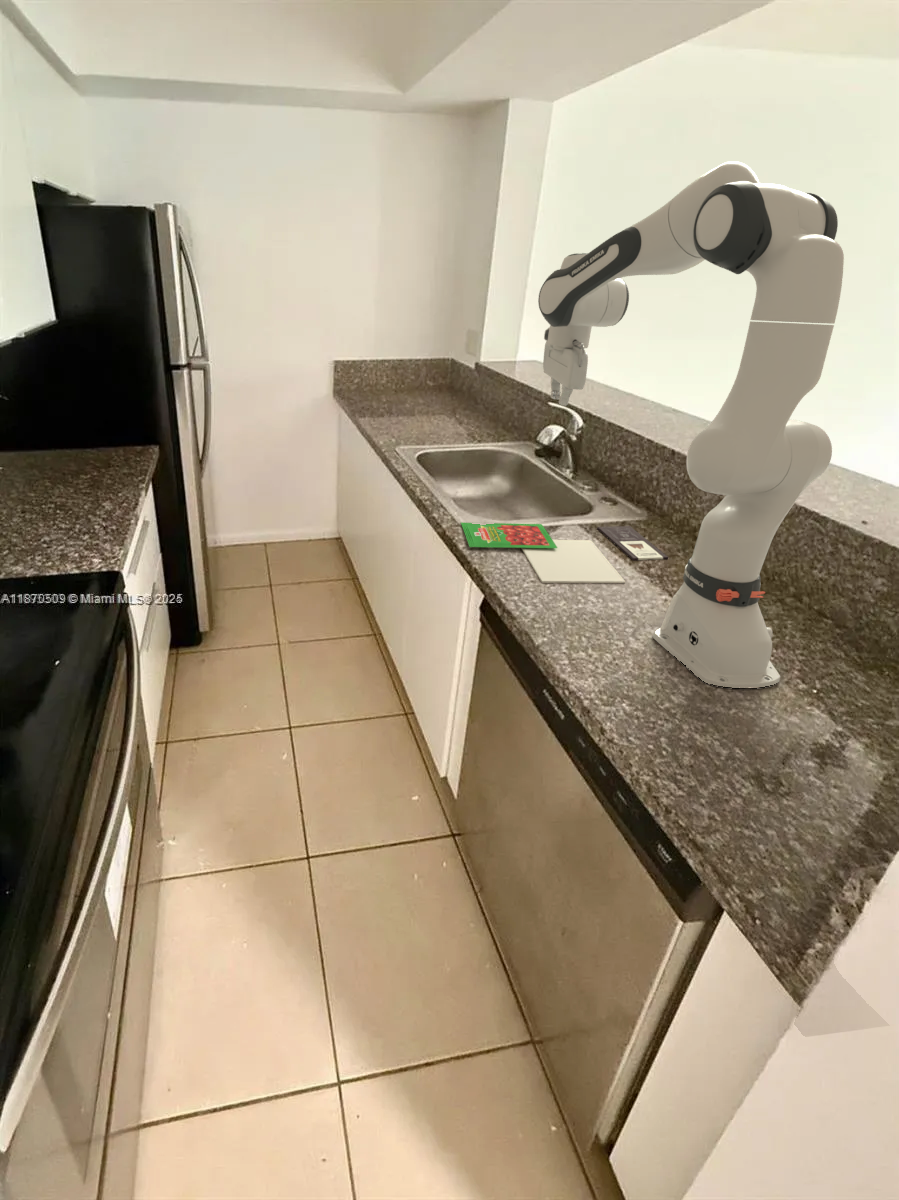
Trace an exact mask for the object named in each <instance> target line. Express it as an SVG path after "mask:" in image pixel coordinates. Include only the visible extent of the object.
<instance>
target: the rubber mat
mask: <svg viewBox="0 0 899 1200" xmlns="http://www.w3.org/2000/svg"><path fill="white" fill-rule="evenodd" d="M552 540H553V542H554V543H555V545H556V546H557V548H521V550H522V552H523V554H524V556H525V557H526V559H527V560H528V562H529V564H530V566H531V567H532V569H533V571H534V572H535V575H536V576H537V577H538V579H539V581H540V582H541V584H625V583H626V581H625V579H624V578H623V577H622V576H621V574H620V573H619V572H618V571H617V570H616V568H615V567H614V566H613V565H612V564H611V562H609V560H608V559H607V558H606V557H605V555H604V554H603V553H602V551H601V550H600V549H599V548H598V547H597V546H596V544H595V543H594V542H593V541H592V540H591V539H589V540H588V539H587V540H586V539H552Z"/></svg>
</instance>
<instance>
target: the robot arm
mask: <svg viewBox="0 0 899 1200" xmlns="http://www.w3.org/2000/svg"><path fill="white" fill-rule="evenodd" d="M838 222H839V220H838V215H837V212H836V210H835V208H834V206H833V205H832V204H831V203H830V202H829V201H828V200H826V199H825V198H823V197H821V196H820V195H818V194H816V193H811V192H802V191H800V190H798V189H797V190H796V189H793V188H789V187H787V186H785V185H783V184H782V185H781V184H776V183H764V182H763V183H761V182H760V181H759V179H758V176H757V175H756V173H755V172H754V171H753V170H752V168H751V167H750V166H748V165H747V164H745V163H743V162H740V161H726V162H724V163H722V164H721V163H720V164H719V165H718V166H716V167H714V168H712V169H710V170H709V171H707V172H706V173H703V174H702V175H701V176H699V177H698V178H697V179H695V180H694V181H692V182H691V183H690V184H689V185H687V186H685V188H683V189H682V190H681V191H680V192H679V193H677V194H676V195H675V196H674V197H673V198H672V199H670V200H669V201H668V202H667V203H665V204H664V205H662V206H661V207H660V208H658V209H657V210H656V211H654V212H653V213H651V214H649V215H648V216H646V217H645V218H643V219H641V220H640V221H638V222H636V223H635V224H632V225H631V226H629V227H626V228H625V229H624V230H621V231H619V232H617V233H615V234H614V235H612V236H610V237H609V238H608V239H606V240H605V241H603V242H602V243H600V244H599V245H598V246H596V247H595V248H593V249H592V250H591V251H590V252H581V253H579V252H578V253H572V254H569V255H567V256H565V257H564V259H563V260H562V263H561V266H560V268H558V269H556V270H554V271H552V273H551V274H550V275H548V277H547V278H546V279H545V281H544V282H543V284H542V286H541V287H540V289H539V293H538V298H537V299H538V308H539V311H540V313H541V315H542V316H543V318H544V320H545V321H546V322H547V323H548V324H549V327H548V328H546V329H545V331H544V334H543V339H544V341H545V344H544V349H543V350H544V351H543V361H542V367H543V368H542V369H543V372H544V374H546V375H548V377H550V388H551V389H550V390H551V392H550V398H551V399H552V400H558V404H559V405H560V406H565V407H566V406H568V405H569V400H570V398H571V395H572V393H573V390H578V391H579V390H583V389H584V387H585V386H586V379H587V371H588V365H589V363H588V362H589V356H588V353H587V351H586V350H585V349H588V348H589V345H590V344H589V343H590V338H591V331H592V327H596V328H597V327H599V328H602V327H603V328H605V327H606V328H607V327H614V326H615V325H617V324H618V323H620V321H621V320H622V319H623V318H624V316H625V314H626V312H627V310H628V306H629V300H630V293H629V288H628V286H627V283H626V282H625V280H624V279H623V278H625V277H626V278H627V277H632V276H661V275H663V276H665V275H675V274H679V273H683V272H684V271H687V270H689V269H691V268H694V267H695V266H698V265H699V264H701V263H702V262H704V261H707V262H709V263H710V264H712V265H714V266H717V267H719V268H721V269H725V270H727V271H729V272H731V273H733V274H736V275H741V274H743V273H744V272H748V274H750V275H752V277H753V279H754V281H755V285H756V287H755V288H756V289H755V290H756V291H755V298H754V303H753V307H752V311H751V314H750V321H749V324H748V330H747V333H746V338H745V342H744V348H743V351H742V355H741V360H740V363H739V368H738V371H737V374H736V377H735V379H734V383H733V384H732V386H731V389H730V391H729V393H728V395H727V397H726V399H725V400H724V402H723V404H722V406H721V408H720V409H719V411H718V413H717V414H716V416H715V417H714V419H712V421H711V422H710V423H709V424H708V425H707V426H706V427H705V429H702V431H700V432H699V433H698V434H697V435H696V436H695V437H694V438H693V440H692V441H691V443H690V444H689V447H688V450H687V454H686V470H687V474H688V476H689V480H691V482H692V483H693V485H694V486H695V487H697V489H699V490H700V491H703V492H705V493H710V494H715V495H721V496H722V495H723V496H724V497H723V498H722V500H721V501H720V502H719V503H718V504H717V505H716V506H715V507H713V508H712V509H711V510H710V511H709V512H707V514H706V515H705V516H704V518H703V519H702V522H701V524H700V528H699V530H698V535H697V538H696V542H695V546H694V549H693V551H692V556H691V557H690V558H689V559H688V561H687V563H686V564H685V568H684V573H683V577H682V578H683V583H682V585H681V586H680V588H678V590H677V591H676V593H675V594H674V595H673V596H672V599H671V600H670V603H669V605H668V607H667V610H666V613H665V615H664V619H663V621H662V623H661V626H660V627H658V628H657V629H656V630H655V631H654V633H653V635H652V638H653V639H654V640H655V641H656V642H657V643H658V644H659V645H661V647H663V648H664V649H665V650H666V651H667V652H668V651H669V652H668V653H670V654H671V655H672V656H673V657H674V656H675V657H676V658H677V660H678V662H680V661H681V662H682V663H683V664H684V665H686V667H685V668H686V669H688V668H689V669H688V670H689V671H690V670H691V671H692V672H693V673H694V674H693V673H692V672H691V671H690V672H691V673H692V674H693V675H695V677H697V678H698V677H699V678H700V679H701V680H702V681H701V680H700V679H699V678H698V679H699V680H700V681H701V682H703V681H704V682H706V683H708V685H710V684H713V685H718V686H723V687H724V686H725V687H732V688H739V687H740V688H744V687H745V688H748V687H765V686H769V687H771V686H770V685H773V686H775V685H777V684H778V683H779V682H780V681H781V675H780V674H779V672H778V670H777V669H776V668H775V667H776V666H774V665H773V663H772V662H771V660H770V659H771V656H772V650H773V640H772V638H773V633H774V632H773V629H772V628H771V627H769V626H767V625H766V623H765V619H764V616H763V614H762V611H761V609H760V606H759V603H758V602H759V601H760V598H764V596H762V595H765V594H766V591H765V590H764V591H763V590H762V591H761V585H762V584H761V575H760V573H761V571H762V568H763V565H764V562H765V560H766V557H767V554H768V552H769V549H770V546H771V543H772V541H773V539H774V536H775V535H776V533H777V531H778V529H779V527H780V525H781V524H782V523H783V521H784V519H785V518H786V517H787V515H788V513H789V512H790V510H791V509H792V508H793V506H794V505H795V504H796V501H798V499H799V498H800V496H801V495H802V494H803V492H804V491H805V490H806V489H807V488H808V486H809V485H811V484H813V482H814V481H816V480H817V479H818V478H820V477H821V476H822V475H823V474H824V473H825V471H826V470H827V469H828V467H829V465H830V463H831V460H832V457H833V456H832V454H833V448H832V447H833V445H832V443H831V439H830V437H829V435H828V434H827V432H826V431H825V430H824V429H823V428H821V427H820V426H818V425H816V424H812V423H810V422H806V421H802V420H797V419H790V418H791V416H792V414H793V413H794V411H795V410H796V408H797V407H798V404H800V402H801V401H802V400H803V398H804V397H805V396H806V395H808V393H810V392H811V391H812V390H814V388H815V387H816V385H817V384H818V383H819V381H820V379H821V376H822V373H823V369H824V365H825V361H826V358H827V353H828V350H829V347H830V343H831V342H830V341H831V338H832V334H833V329H834V327H835V325H834V324H835V322H836V319H837V314H838V309H839V304H840V298H841V292H842V287H843V286H842V285H843V277H844V263H845V261H844V260H845V258H844V257H845V256H844V252H843V251H844V250H843V248H842V246H841V245H840V244H839V243H838V241H836V240H835V239H836V237H837V232H838ZM560 388H561V389H560ZM675 657H674V658H675ZM676 658H675V659H676ZM681 662H680V663H681ZM682 663H681V664H682ZM683 664H682V665H683ZM684 665H683V666H684ZM704 682H703V683H704ZM706 683H705V684H706ZM776 683H777V684H776ZM774 684H775V685H774ZM713 685H712V686H713ZM718 686H717V687H718ZM723 687H722V688H723ZM732 688H731V689H732ZM765 688H766V687H765Z"/></svg>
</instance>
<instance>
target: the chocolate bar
mask: <svg viewBox="0 0 899 1200" xmlns="http://www.w3.org/2000/svg"><path fill="white" fill-rule="evenodd" d="M596 529H597V530H598V531H599V532H600V533H601V532H602V533H603V534H604V535H605V536H604V535H603V534H602V533H601V534H602V535H603V536H604V537H606V538H607V537H608V538H609V539H610V540H611V541H612V542H613V543H612V542H611V541H610V540H609V539H608V538H607V539H608V540H609V541H610V542H611V543H612V544H614V543H615V544H614V545H615V546H616V545H617V546H618V547H619V548H620V549H621V550H622V551H621V550H620V549H619V548H618V547H617V546H616V547H617V548H618V549H619V550H620V551H621V552H623V554H625V555H626V556H627V555H628V556H629V557H630V560H632V561H651V560H654V561H655V560H668V559H669V556H668V555H667V554H665V553H664V552H663V551H662V550H660V548H658V547H657V546H655V545H654V544H653V543H651V542H650V541H649V540H648V539H647V538H645V537H644V536H643V535H641V533H639V532H638V531H636V530H635V529H634V528H633V527H632V526H630V525H626V526H625V525H624V526H623V525H622V526H620V525H619V526H618V525H617V526H597V528H596ZM628 556H627V557H628ZM629 557H628V558H629Z"/></svg>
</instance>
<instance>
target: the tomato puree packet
mask: <svg viewBox="0 0 899 1200" xmlns="http://www.w3.org/2000/svg"><path fill="white" fill-rule="evenodd" d="M472 523H473V522H460V524H461V527H462V529H463V532H464V535H465V539H466V541H467V544H468V546H469V548H510V549H511V548H515V549H520V548H557V546H556V545H555V543H554V542H553V540H554V539H552V537H551V536H550V534H549V532H548V531H547V530H546V528H545V527H544V525H543V524H542V523H511V522H510V523H509V522H508V523H506V522H503V523H500V522H495V523H494V522H493V523H494V524H486V525H480V524H472Z"/></svg>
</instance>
